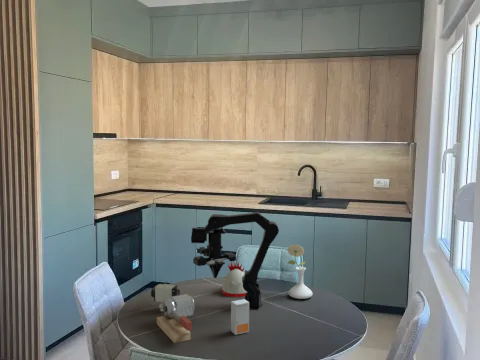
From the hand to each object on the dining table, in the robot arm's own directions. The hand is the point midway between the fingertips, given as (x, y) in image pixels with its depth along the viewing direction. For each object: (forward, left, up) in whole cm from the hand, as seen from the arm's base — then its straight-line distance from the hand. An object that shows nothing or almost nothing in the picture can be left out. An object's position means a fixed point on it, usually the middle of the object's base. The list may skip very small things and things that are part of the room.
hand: (215, 277), depth 198 cm
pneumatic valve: (+18, +12, -13) cm, 25 cm away
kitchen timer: (-2, -21, -13) cm, 25 cm away
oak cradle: (+4, +30, -13) cm, 33 cm away
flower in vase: (-32, -26, -13) cm, 43 cm away
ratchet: (+1, +27, -10) cm, 29 cm away
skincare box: (-20, +21, -13) cm, 32 cm away
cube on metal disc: (+6, +20, -10) cm, 23 cm away
